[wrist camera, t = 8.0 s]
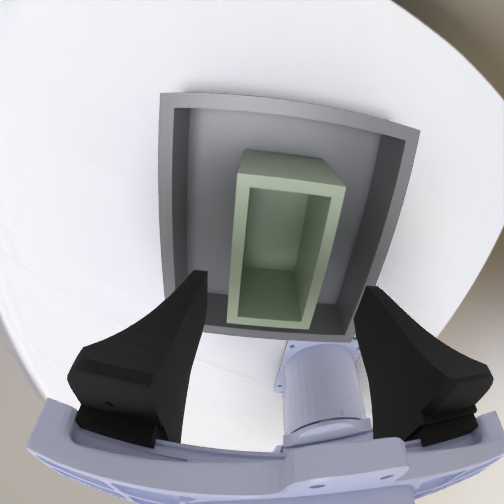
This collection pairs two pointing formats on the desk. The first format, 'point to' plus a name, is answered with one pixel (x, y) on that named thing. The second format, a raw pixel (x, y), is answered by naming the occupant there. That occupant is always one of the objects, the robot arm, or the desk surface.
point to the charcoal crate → (224, 193)
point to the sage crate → (281, 238)
